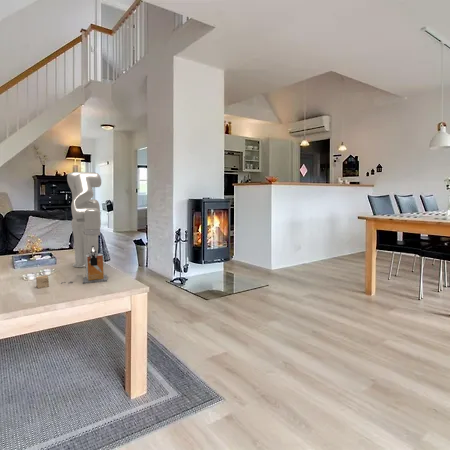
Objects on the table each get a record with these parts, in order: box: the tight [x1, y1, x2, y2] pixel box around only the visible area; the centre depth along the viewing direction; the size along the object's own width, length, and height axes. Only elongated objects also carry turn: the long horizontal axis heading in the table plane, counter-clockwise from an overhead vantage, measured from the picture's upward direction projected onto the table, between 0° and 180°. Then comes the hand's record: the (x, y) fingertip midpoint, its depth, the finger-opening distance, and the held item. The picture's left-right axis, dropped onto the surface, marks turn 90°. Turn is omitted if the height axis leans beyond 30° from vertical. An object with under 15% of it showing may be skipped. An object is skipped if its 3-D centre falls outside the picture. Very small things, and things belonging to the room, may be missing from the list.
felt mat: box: [82, 274, 108, 284], centre depth 187 cm, size 12×12×1 cm
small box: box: [85, 253, 105, 281], centre depth 187 cm, size 8×6×13 cm
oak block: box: [35, 275, 50, 289], centre depth 175 cm, size 5×5×5 cm
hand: (94, 263), depth 187 cm, fingers open, 9 cm apart
